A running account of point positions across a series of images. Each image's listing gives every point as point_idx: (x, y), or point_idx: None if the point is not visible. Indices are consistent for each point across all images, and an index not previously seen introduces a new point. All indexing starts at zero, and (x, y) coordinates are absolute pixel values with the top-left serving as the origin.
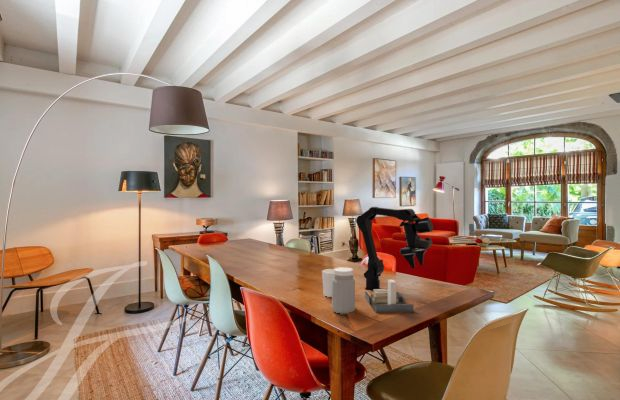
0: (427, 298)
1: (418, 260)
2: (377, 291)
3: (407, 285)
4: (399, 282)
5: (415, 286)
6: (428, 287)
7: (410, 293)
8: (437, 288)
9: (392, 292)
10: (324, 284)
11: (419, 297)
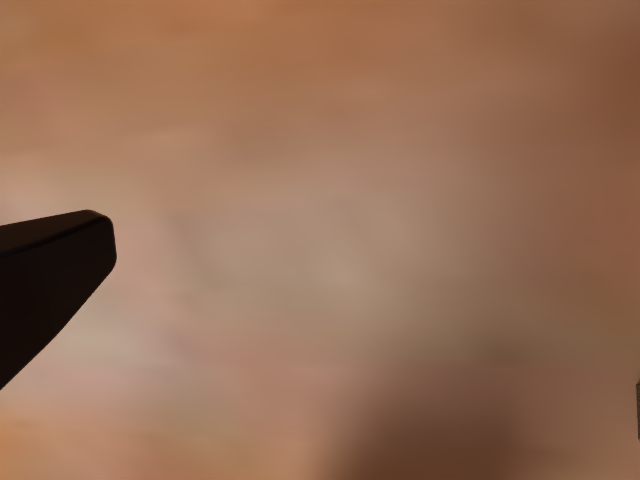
0: (448, 38)
1: (2, 378)
2: None
3: (107, 299)
4: (68, 369)
5: None
6: (58, 98)
7: (341, 255)
8: (39, 3)
9: None
10: None
11: (450, 141)
